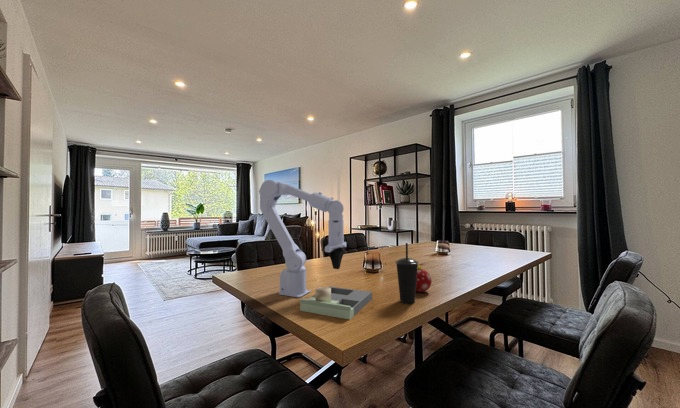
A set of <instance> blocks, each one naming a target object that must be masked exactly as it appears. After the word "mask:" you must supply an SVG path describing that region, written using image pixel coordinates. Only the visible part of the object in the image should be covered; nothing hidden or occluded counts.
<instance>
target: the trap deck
mask: <svg viewBox="0 0 680 408" xmlns="http://www.w3.org/2000/svg"><path fill="white" fill-rule="evenodd" d="M328 287H329V288H331V303H329V302H322V301H316V299H315V294H314V295H312V296H310V297H309V298H300V301H299V302H300V303H299V304H300V309H299V311H301V312H306V313H310V314H311V313H312V314H317V315H323V316H327V317H332V318H333V317H334V318H340V319H345V320H351V319H352V318H354V317H355V316H356V315H357V314H358V313H359V312H360V311H361V310H362V309H363V308H364V307H365V306H367V304H368V303H369V302H370V301H371V300H372V299H373V291H371V290H370V291H368V290H362V289H355V288H354V289H353V288H346V287H336V286H330V285H329V286H328Z"/></svg>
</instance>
